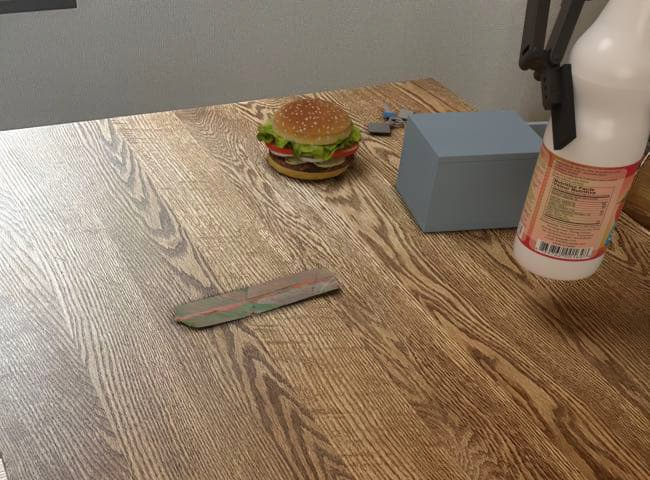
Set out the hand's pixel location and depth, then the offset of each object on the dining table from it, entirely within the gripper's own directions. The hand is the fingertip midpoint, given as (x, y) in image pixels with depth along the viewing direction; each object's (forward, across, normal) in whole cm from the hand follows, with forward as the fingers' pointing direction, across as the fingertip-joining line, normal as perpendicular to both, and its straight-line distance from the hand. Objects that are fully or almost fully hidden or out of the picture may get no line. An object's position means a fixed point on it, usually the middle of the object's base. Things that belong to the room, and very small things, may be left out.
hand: (614, 141), depth 76 cm
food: (-16, +18, -45) cm, 51 cm away
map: (+8, +31, -21) cm, 38 cm away
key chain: (-26, +1, -54) cm, 60 cm away
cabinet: (-6, 0, -34) cm, 35 cm away
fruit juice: (+8, 0, -12) cm, 14 cm away
